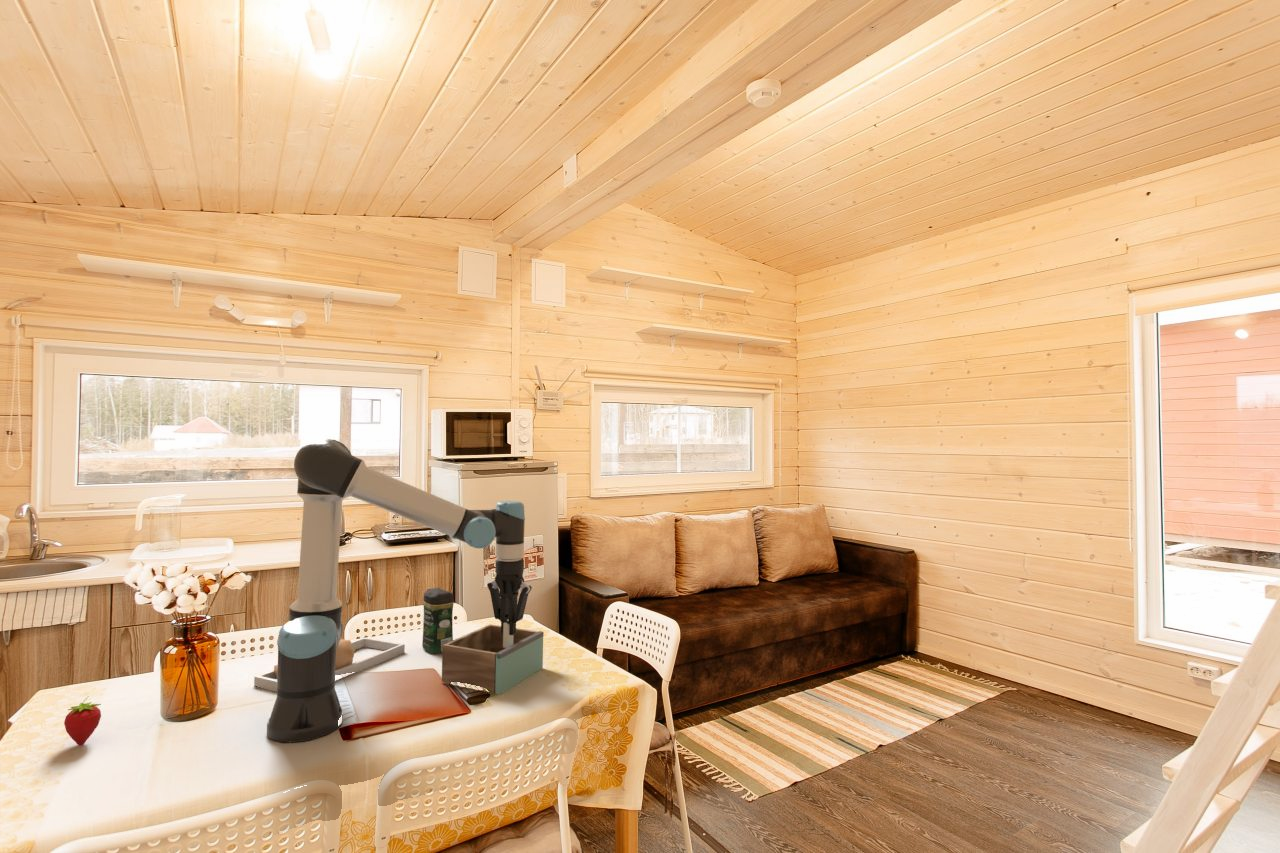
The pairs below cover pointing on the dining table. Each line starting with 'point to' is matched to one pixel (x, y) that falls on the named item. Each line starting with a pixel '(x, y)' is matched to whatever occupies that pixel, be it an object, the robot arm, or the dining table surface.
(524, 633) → the crate
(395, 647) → the serving tray
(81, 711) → the decorative fruit
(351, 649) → the squash
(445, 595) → the coffee jar
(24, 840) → the dining table surface
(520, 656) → the panel
